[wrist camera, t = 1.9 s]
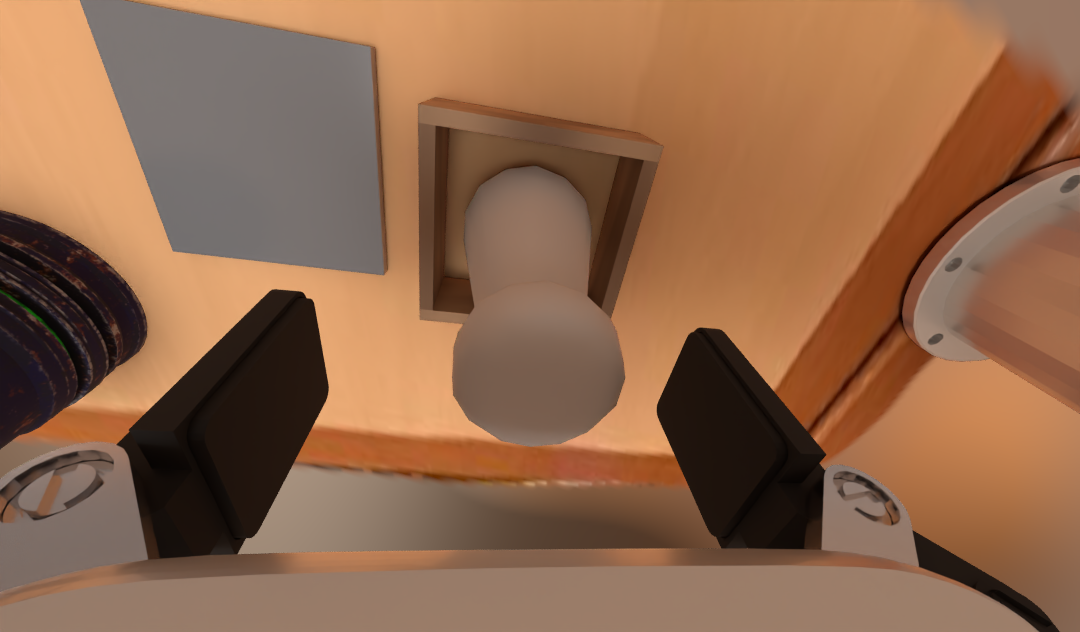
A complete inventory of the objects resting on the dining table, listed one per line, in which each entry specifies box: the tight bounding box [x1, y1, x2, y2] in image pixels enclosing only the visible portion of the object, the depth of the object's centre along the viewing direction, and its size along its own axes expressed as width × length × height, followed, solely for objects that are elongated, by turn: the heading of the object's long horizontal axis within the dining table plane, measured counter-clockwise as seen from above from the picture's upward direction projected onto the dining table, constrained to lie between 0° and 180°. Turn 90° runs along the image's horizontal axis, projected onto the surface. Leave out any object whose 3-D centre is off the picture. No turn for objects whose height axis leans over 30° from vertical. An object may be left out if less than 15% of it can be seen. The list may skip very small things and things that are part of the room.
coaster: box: [80, 0, 387, 275], centre depth 17 cm, size 10×10×1 cm
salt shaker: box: [452, 166, 625, 447], centre depth 14 cm, size 6×6×13 cm
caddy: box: [418, 97, 664, 324], centre depth 18 cm, size 9×9×4 cm
